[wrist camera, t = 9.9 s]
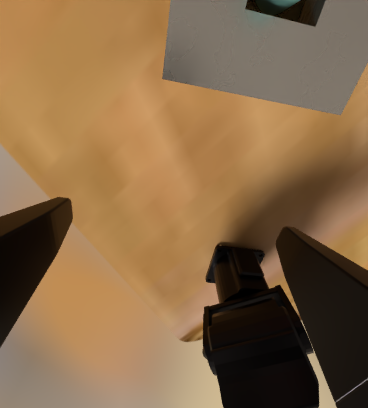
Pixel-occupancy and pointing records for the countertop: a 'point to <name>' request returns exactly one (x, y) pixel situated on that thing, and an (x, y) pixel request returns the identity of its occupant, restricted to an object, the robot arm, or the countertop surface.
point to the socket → (270, 51)
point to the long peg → (274, 5)
